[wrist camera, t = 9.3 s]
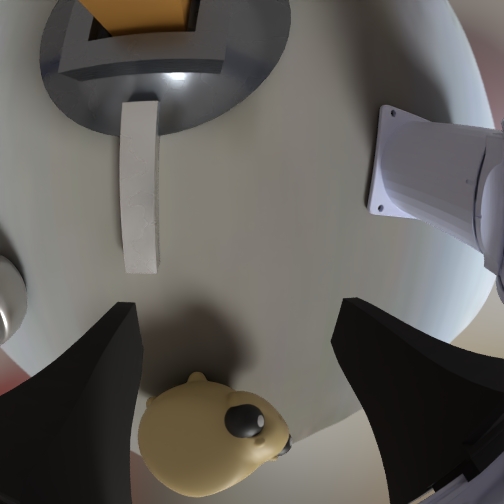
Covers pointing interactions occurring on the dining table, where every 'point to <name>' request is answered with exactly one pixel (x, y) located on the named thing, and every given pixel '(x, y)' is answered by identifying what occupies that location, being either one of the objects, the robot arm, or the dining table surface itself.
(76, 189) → the dining table surface
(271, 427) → the tan rounded figure
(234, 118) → the dining table surface
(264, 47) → the grey piece
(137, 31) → the orange rectangular block
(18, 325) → the plastic bottle
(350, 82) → the dining table surface
